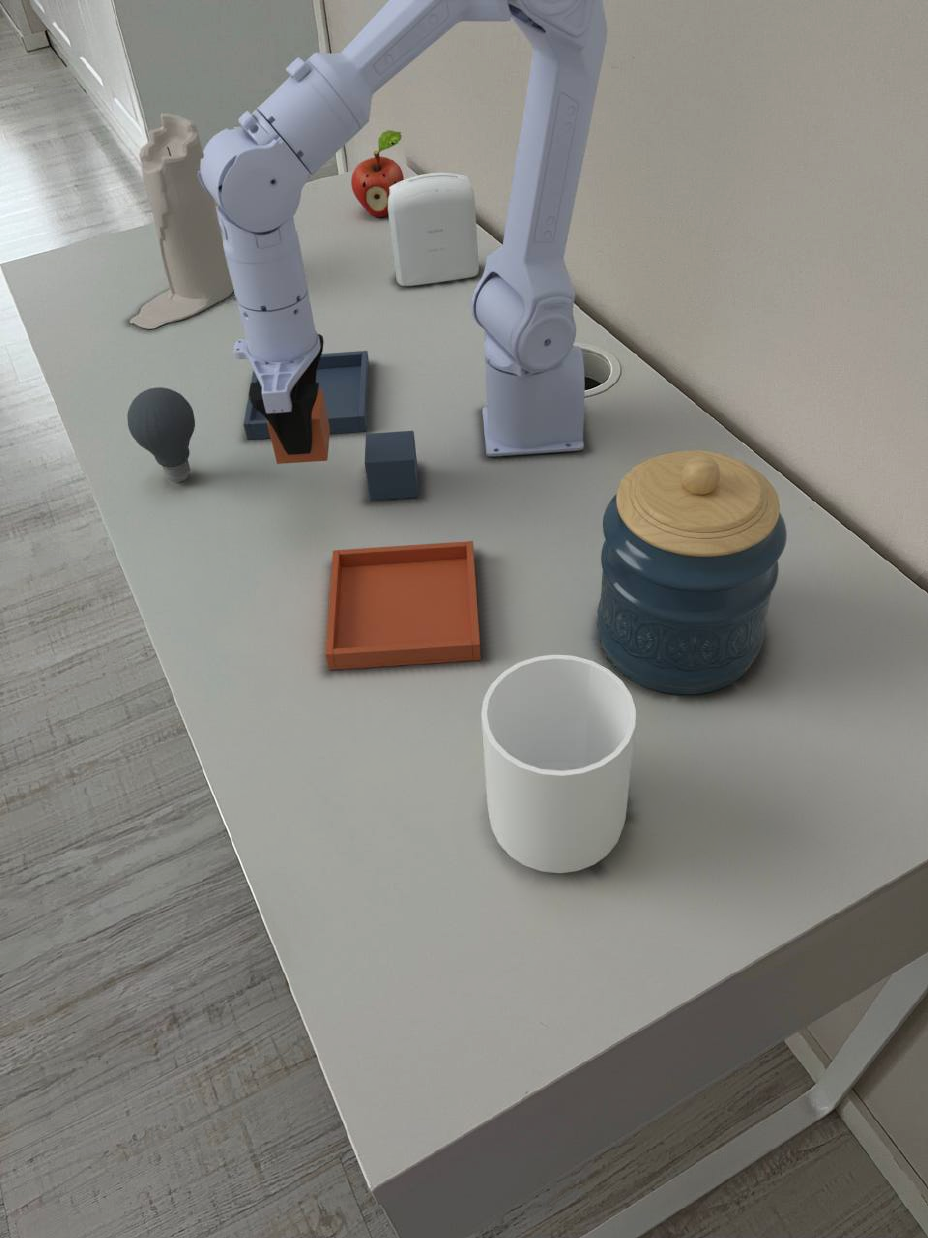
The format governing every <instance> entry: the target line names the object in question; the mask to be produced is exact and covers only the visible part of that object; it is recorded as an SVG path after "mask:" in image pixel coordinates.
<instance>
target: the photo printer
mask: <svg viewBox="0 0 928 1238" xmlns="http://www.w3.org/2000/svg"><path fill="white" fill-rule="evenodd" d="M389 193H390V195H389V198H388V214H389V215H388V222H389V229H390V238H391V247H392V255H393V261H394V270H395V278H396V282H397V283H398V285H400V286H402V287H411V286H412V287H414V286H420V285H428V284H435V283H442V282H450V281H457V280H461V279H462V280H463V279H468V278H473V277H475V276H477V275H478V274H479V272H480V264H479V263H480V262H479V247H478V246H479V245H478V231H477V214H476V213H477V212H476V198H475V196H476V195H475V191H474V189H473V187H472V184H471V180H470V179H469V176H468V175H464V174H459V173H453V172H430V173H423V174H417V175H414V176H411V177H408V178H405V179H404V180H402V181H400V182H398V183H396V184H394V185H392V186H391V187H389Z"/></svg>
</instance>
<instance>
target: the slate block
mask: <svg viewBox="0 0 928 1238" xmlns="http://www.w3.org/2000/svg"><path fill="white" fill-rule="evenodd" d="M415 439H416V438H415V431H414V430H401V431H387V432H386V431H385V432H373V433H372V432H371V433H365V444H364V446H365V447H364V468H365V474H366V480H367V481H366V482H367V487H368V488H367V489H368V494H369V500H370V502H372V501H373V502H374V501H389V500H403V499H404V500H405V499H417V498H419V467H418V459H417V450H416V440H415Z"/></svg>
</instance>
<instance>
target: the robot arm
mask: <svg viewBox="0 0 928 1238" xmlns="http://www.w3.org/2000/svg"><path fill="white" fill-rule="evenodd" d="M511 20H513V22H514V23H515V25H516V26H517V27H518V29H519V30H520V31H521V33H522V34H523V36H524V37H525V39H526V40H527V41H528V42H529V44H530V45H531V48H532V55H531V56H532V57H531V62H530V68H529V75H528V79H527V80H528V81H527V88H526V92H525V100H524V107H523V114H522V119H521V126H520V131H519V139H518V145H517V151H516V157H515V164H514V171H513V177H512V181H511V189H510V196H509V202H508V207H507V215H506V220H505V228H504V234H503V241H502V244H501V246H499V247H498V248H497V249H495V250H494V251H492V252H491V253H489V254H488V255H487V257H486V261H485V265H484V266H485V267H484V271H483V273H482V276H481V278H480V280H479V282H478V283H477V285H476V286H475V288H474V290H473V293H472V295H471V301H470V311H471V316H472V317H473V319H474V321H475V323H476V324H477V325H478V326H479V327H481V328H482V329H483V330H484V343H485V344H484V365H485V366H484V367H485V386H486V387H485V389H486V406H484V407H483V408H482V421H483V432H484V444H485V454H486V456H487V457H490V458H491V457H505V456H519V455H534V454H547V453H549V454H550V453H551V454H552V453H564V452H565V453H566V452H577V451H583V450H584V446H585V445H584V425H585V424H584V423H585V422H584V420H585V410H586V409H585V394H586V393H585V390H586V389H585V388H586V387H585V384H586V383H585V365H584V357H583V352H582V347H581V346H579V345H575V341H576V337H577V324H576V321H575V317H574V306H575V299H576V292H575V288H574V285H573V282H572V279H571V277H570V273H569V271H568V269H567V265H566V262H565V253H566V249H567V242H568V238H569V233H570V227H571V224H572V223H571V222H572V217H573V213H574V208H575V202H576V198H577V191H578V187H579V182H580V177H581V173H582V168H583V162H584V157H585V151H586V147H587V143H588V137H589V132H590V127H591V121H592V117H593V112H594V106H595V101H596V97H597V92H598V87H599V83H600V82H599V81H600V76H601V71H602V66H603V62H604V56H605V52H606V51H605V50H606V46H607V39H608V31H609V29H608V22H607V17H606V11H605V6H604V1H603V0H388V1H387V2H386V3H385V4H384V5H383V6H382V7H381V9H380V10H379V11H378V12H377V13H376V14H375V15H374V16H373V17H372V18H371V19H370V20H369V21H368V23H367V24H366V25H365V26H364V27H363V28H362V29H361V30H360V31H359V33H358V34H356V36H355V37H354V38H353V39H352V40H351V41H350V42H349V44H348V45H346V47H344V49H343V50H342V51H341V52H338V53H328V52H327V53H326V52H314V53H313V54H312V55H310V57H308V59H307V60H306V61H305V60H303V59H302V58H301V57H299V56H298V57H296V58H295V59H294V60H293V61H292V62H291V63H290V64H289V65H287V66H286V69H285V71H286V73H287V75H289V77H288V78H287V79H286V80H284V82H283V83H282V84H280V86H278V88H277V89H275V90H274V92H273V93H271V94H270V95H269V96H268V97H267V98H266V99H265V100H264V101H263V102H262V103H261V104H260V105H259V106H258V107H257V108H256V109H255V110H254V111H253V112H252V113H251V112H250V111H249V110H246V111H245V112H243V113H242V114H241V115H240V117H239V118H238V119H237V121H238V123H239V124H240V126H233V128H231V129H229V128H228V127H227V128H224V129H223V130H221V131H219V132H217V133H216V134H214V135H213V136H212V137H211V138H210V139H209V141H208V142H207V143H206V144H205V146H204V148H203V150H202V151H203V156H204V157H203V158H201V164H200V170H201V171H199V172H198V178H199V181H200V183H201V185H202V186H203V188H204V189H205V191H206V192H207V193H208V195H209V196H210V197H211V198H213V199H214V202H216V204H217V205H218V206H217V207H216V211H217V216H218V221H219V225H220V230H221V234H222V238H223V247H224V251H225V256H226V260H227V264H228V268H229V272H230V276H231V281H232V285H233V289H234V290H233V293H234V297H235V301H236V305H237V309H238V313H239V318H240V321H241V325H242V326H241V327H242V330H243V334H244V337H245V338H240V339H237V340H235V342H234V344H233V345H234V346H233V348H232V349H233V350H232V351H233V355H234V358H236V359H237V360H247V361H248V362H249V364H250V366H251V368H252V370H253V371H254V372H255V374H256V376H257V378H258V381H259V383H251V382H250V384H249V389H248V397H249V398H250V402H251V404H252V406H253V407H254V408H255V409H257V410H258V411H259V412H260V413H261V414H262V415H263V416H264V417H265V418H266V419H267V420H268V422H269V423H270V424H271V426H272V428H273V429H274V431H275V433H276V435H277V437H278V438H279V440H280V442H281V444H282V446H283V448H284V449H285V451H286V453H287V454H288V455H295V454H309V453H311V447H312V410H313V407H314V404H315V402H316V398H317V395H318V388H319V383H316V373H317V367H318V363H319V360H320V357H321V354H323V352H324V344H325V342H324V341H325V340H324V337H323V335H322V334H320V333H318V332H317V330H316V327H315V320H314V316H313V310H312V303H311V299H310V298H311V297H310V292H309V287H308V282H307V277H306V272H305V266H304V261H303V255H302V250H301V244H300V239H299V233H298V230H297V229H296V223H295V219H294V216H295V215H296V213H297V211H298V208H299V205H300V201H301V197H302V191H303V188H304V186H305V185H306V184H308V182H309V180H310V178H312V176H314V175H315V174H316V173H317V172H318V171H319V170H320V169H321V168H322V167H323V166H324V165H325V164H326V163H327V162H329V160H330V159H331V158H333V156H335V155H336V154H337V153H338V152H339V151H340V150H341V149H342V148H344V146H346V144H347V143H348V142H350V140H352V139H353V138H354V137H355V136H356V135H357V134H358V133H359V132H360V131H361V130H362V129H363V128H364V127H366V125H368V123H369V121H370V117H371V109H372V100H373V96H374V94H375V93H376V92H377V91H379V90H380V89H381V88H382V87H384V85H386V84H387V83H388V82H389V81H390V80H392V79H393V78H394V77H395V76H396V75H397V74H399V73H400V72H401V71H402V70H403V69H405V68H406V67H407V66H408V65H409V64H410V63H412V62H413V61H414V60H415V59H417V58H418V57H419V56H420V55H422V54H423V53H424V52H425V51H426V50H428V49H429V47H431V46H432V45H433V44H434V43H436V42H437V41H438V40H439V39H440V38H442V37H443V36H444V35H445V34H446V33H447V32H448V31H450V30H451V29H452V28H454V26H456V25H457V24H459V23H461V22H510V21H511Z"/></svg>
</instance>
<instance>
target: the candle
mask: <svg viewBox="0 0 928 1238" xmlns="http://www.w3.org/2000/svg"><path fill="white" fill-rule="evenodd" d="M159 116H160V120H161V121H160V122H161V125H162V126H161V127H158V128H157V127H156V128H154V129H153V128H152V129H150V130H149V132H148V142H146V143H145V144H144V145H143V146H142V147H141V148H140V152H139V155H138V157H139V160H140V163H141V164H140V165H141V174H142V179H143V180H142V181H143V186H144V189H145V192H146V196H147V199H148V204H149V207H150V211H151V213H152V216H153V220H154V221H153V222H154V225H155V229H156V234H157V239H158V244H159V250H160V256H161V261H162V265H163V269H164V272H165V276H166V279H167V283H168V287H169V289H168V290H166V291H164V292H162V293H161V294H159V295H157V296H155V297H154V298H153V299H151V300H149V301H148V302H145V304H143V306H141V308H140V312H139V313H138V314H136V315H135V316H133V317H132V318H130V319H129V323H130V324H134V325H136V326H138V327H140V328H143V329H149V330H151V329H155V328H158V327H161V326H163V325H165V324H167V323H174V322H178V321H182V320H185V319H187V318H190V317H192V316H193V317H194V316H195V315H197V314H199V313H201V312H203V311H205V310H206V309H208V308H211V306H213V305H215V304H217V303H219V302H221V301H224V300H225V299H227V298H228V297H229V296H230V295H232V293H234V289H233V285H232V281H231V276H230V272H229V268H228V264H227V260H226V256H225V251H224V247H223V235H222V233H221V230H220V222H219V218H218V213H217V207H216V203H215V200H214V199H213V198H211V197H210V196H209V195H208V193H207V192H206V191H205V189H204V188H203V186H202V185H201V183H200V181H199V178H198V172H199V171H201V170H200V164H201V158H203V157H204V153H203V151H204V150H203V146H202V143H201V139H200V135H199V132H198V128H197V127H198V126H197V125H196V123H195V122H194V121H193V120H191V119H189V118H187V117H185V116H183V115H180V114H176V113H169V112H163V113H161V114H160V115H159Z"/></svg>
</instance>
